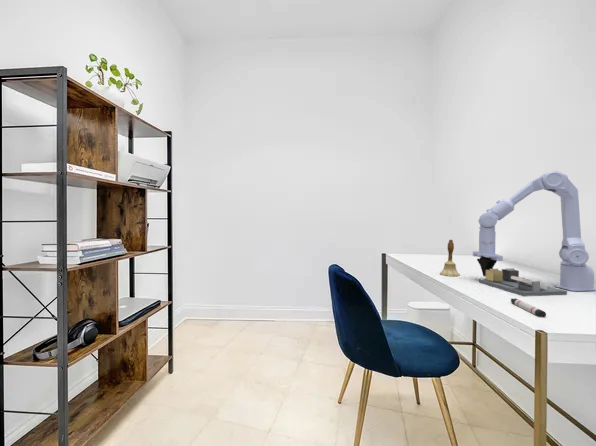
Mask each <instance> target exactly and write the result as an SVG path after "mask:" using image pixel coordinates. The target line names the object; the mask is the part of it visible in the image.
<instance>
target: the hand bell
mask: <svg viewBox="0 0 596 446" xmlns="http://www.w3.org/2000/svg"><path fill="white" fill-rule="evenodd" d="M454 249H455V244H454V240H453V239H449V240H448V243H447V252H448V257H447V261H445V262H444V266H443V269H442V270H441V271H440V272H439V274H440V275H441V276H445V277H446V276H448V277H459V276H461V274H460V273H459V272H458V270H457V266H456V265H457V264H456V263H455V262H454V261H453V252H454Z"/></svg>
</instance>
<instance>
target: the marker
mask: <svg viewBox="0 0 596 446" xmlns="http://www.w3.org/2000/svg"><path fill="white" fill-rule="evenodd" d="M510 302H511V303H512V304H513V305H515V306H516V307H518V308H521V309H522V310H525V311H526V312H527V313H530V314H532V315H534V316H536V315H537V317H538V316H539V318H546V316H547V312H545V311H544V310H542V309H540V308H538V307H536V306H534V305H531V304H529V303H527V302H525V301H523V300H521V299H519V298H516V297H515V298H510Z"/></svg>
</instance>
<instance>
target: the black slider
mask: <svg viewBox="0 0 596 446" xmlns="http://www.w3.org/2000/svg"><path fill="white" fill-rule="evenodd" d="M501 271H503V276H502V279H503V280H507V281H517V280H514V279H511V276H516V277H520V276H519V275H520V271H519V270H517V269H515V268H514V267H511V268H510V267H509V268H504V269H501Z"/></svg>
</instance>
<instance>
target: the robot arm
mask: <svg viewBox="0 0 596 446" xmlns="http://www.w3.org/2000/svg"><path fill="white" fill-rule="evenodd" d="M541 190H545V191H547V192H552V193H554V194H555V195H556V196H558V197H560V208H561V209H560V211H561V212H560V213H561V224H562V225H561V227H562V241H561V248H560V250H559V252H558V255H559V258H560V259H561V262H560V269H559V272H560V273H559V275H560V276H559V284H555V285H554V284H553V288H557V289H561V290H565V291H571V292H588V291H591V292H592V291H596V288H594V285H595V284H594V283H595V281H594V280H595V272H594V269H593V268H592V267H591V266H590V265H588V264H586V263H587V262H588V261H589V258H590V257H589V256H590V255H589V253H588V251H587V250H586V247H585V243H584V241H583V239H582V232H581V218H580V217H581V216H580V214H581V213H580V201H579V189H578V187H576V186H575V184H574V183H572V181H571V180H570V179H569V177H568V175H567V174H565V173H562V171H561V172H560V171H558V170H550V171H548V172H547V173H543V174H541V175H540V176H539V177H537V178H535V179H533V180H532V181H530V182H528V183H526V185H525V186H523V187H522V188H521V189H520V190H517V192H516V193H514V194H513V195H512V196H511V197H509V198H508V199H506V198H504V199H501V200H497V201H496V204H495V205H493V206H492V207H490V208H487V209H486V210H485V211H486V212H484V213H482V214H481V215H480V216H479V219H478V224H479V231H478V251H472V256H473V257H476V258H477V257H478V258H477V259H476V261H477V262H478V265H479V266H480V269H481V273H482V276H483V277H485V278H486V270H490V269H494V266H495V265H496V264H497V262H502V261H504V259H503V257H504V256H503V255H500V254H497V253H496V236H497V235H496V233H497V232H496V225H497V223H498V221H501V220H502V219H504V218H505V217H506V216H507V215H509V214H511V213H512V212H513V211H514V210H515V205H517V204H518V203H520V202H521V201H522V200H524V199H526V198H527V197H528V196H529V195H531V194H532V193H534V192H537V191H538V192H539V191H541Z"/></svg>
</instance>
